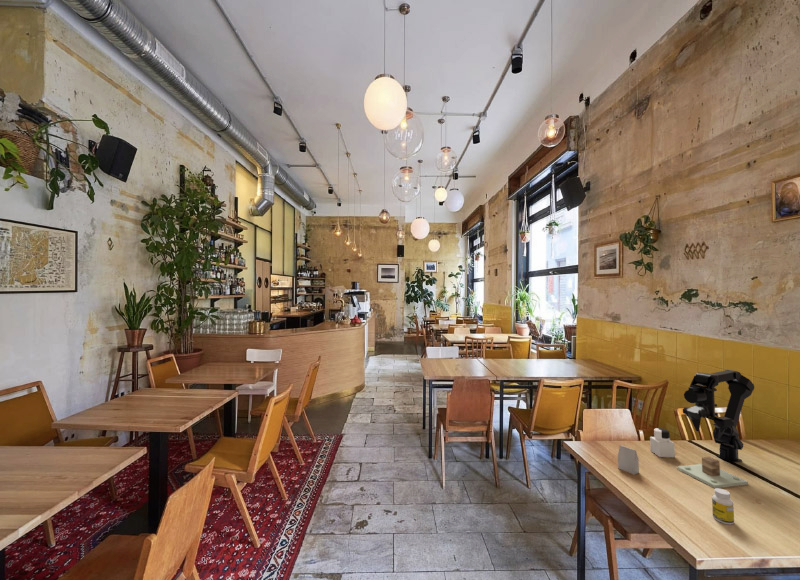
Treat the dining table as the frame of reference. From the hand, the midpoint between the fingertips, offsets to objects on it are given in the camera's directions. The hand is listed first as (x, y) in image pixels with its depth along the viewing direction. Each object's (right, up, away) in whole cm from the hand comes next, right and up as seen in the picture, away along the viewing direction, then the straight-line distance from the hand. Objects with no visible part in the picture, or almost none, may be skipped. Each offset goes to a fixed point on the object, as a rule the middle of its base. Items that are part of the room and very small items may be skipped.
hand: (707, 434), depth 160 cm
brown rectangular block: (-9, -12, -12) cm, 19 cm away
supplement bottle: (-31, -12, -41) cm, 53 cm away
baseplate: (-9, -13, -12) cm, 20 cm away
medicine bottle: (-14, -14, +10) cm, 21 cm away
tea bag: (-40, -14, -6) cm, 43 cm away
